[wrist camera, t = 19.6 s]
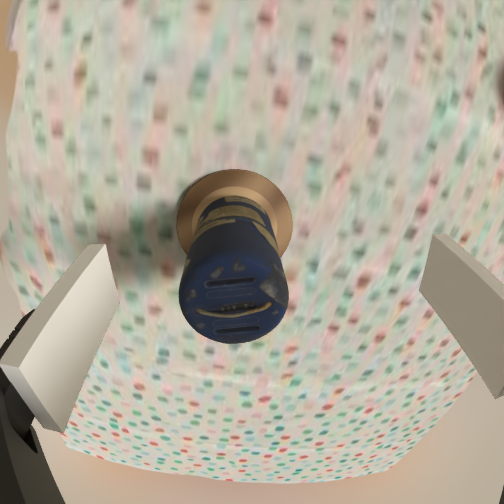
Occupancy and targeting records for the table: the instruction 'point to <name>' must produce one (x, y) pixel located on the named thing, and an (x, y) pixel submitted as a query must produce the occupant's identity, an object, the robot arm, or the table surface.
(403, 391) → the table surface
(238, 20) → the table surface
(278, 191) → the brown plate
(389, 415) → the table surface
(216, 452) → the table surface
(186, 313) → the canister
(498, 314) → the robot arm
